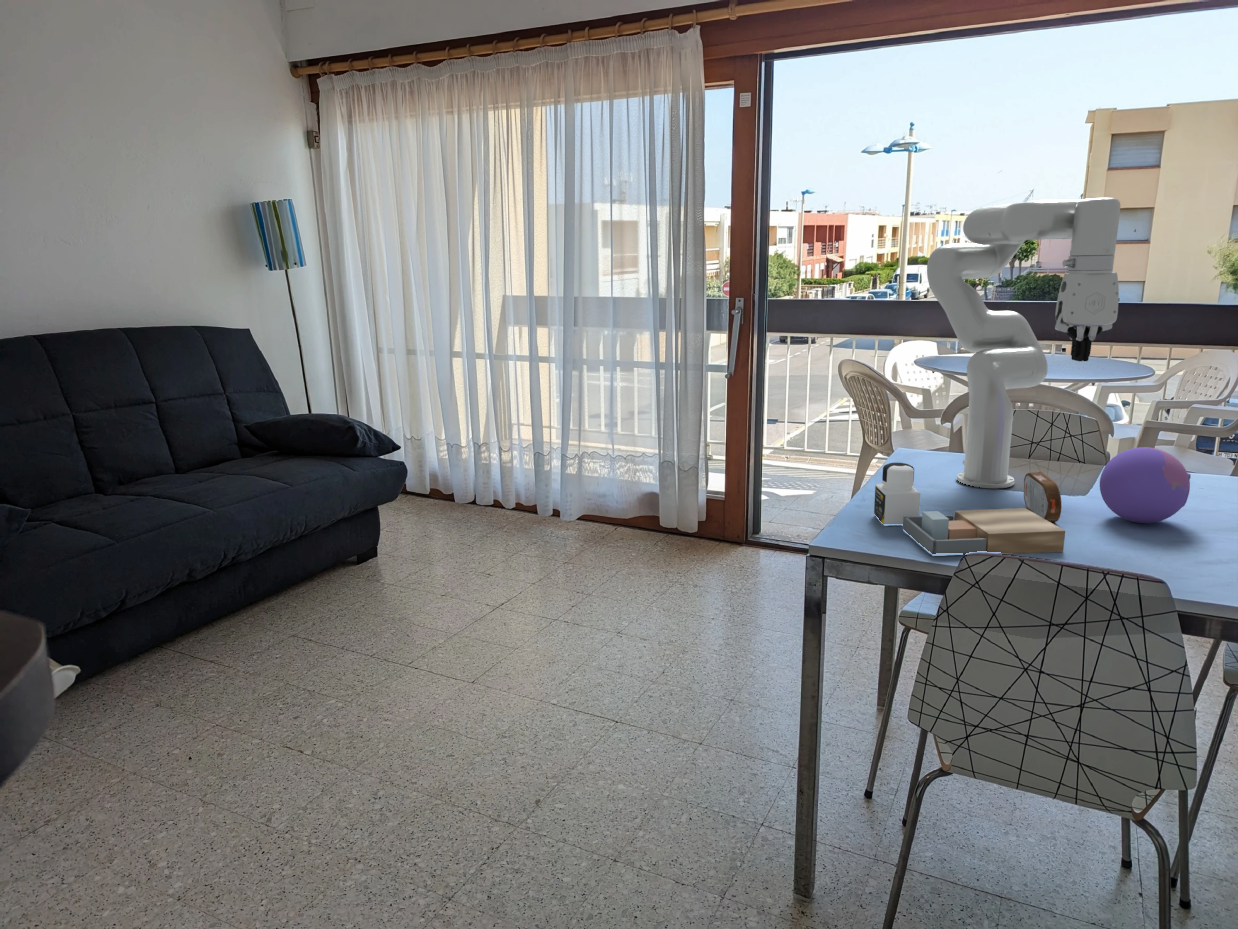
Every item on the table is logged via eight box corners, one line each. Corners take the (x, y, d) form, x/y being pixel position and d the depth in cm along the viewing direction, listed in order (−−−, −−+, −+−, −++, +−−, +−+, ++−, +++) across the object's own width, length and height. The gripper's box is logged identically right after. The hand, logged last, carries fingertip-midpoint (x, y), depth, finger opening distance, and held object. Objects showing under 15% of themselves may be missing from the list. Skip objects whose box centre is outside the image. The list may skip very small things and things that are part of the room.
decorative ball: (1196, 535, 154) (1208, 458, 150) (1107, 530, 158) (1117, 455, 154) (1168, 512, 168) (1178, 441, 164) (1086, 508, 172) (1095, 438, 168)
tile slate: (936, 535, 156) (920, 536, 156) (938, 511, 155) (922, 511, 155) (947, 544, 152) (931, 545, 152) (949, 519, 150) (932, 519, 150)
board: (953, 530, 161) (954, 510, 160) (1023, 527, 161) (1025, 508, 160) (986, 554, 147) (988, 533, 146) (1063, 551, 148) (1065, 530, 147)
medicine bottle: (873, 516, 171) (876, 460, 168) (907, 515, 171) (911, 460, 168) (882, 526, 164) (885, 469, 161) (918, 526, 164) (922, 468, 161)
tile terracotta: (937, 536, 156) (938, 521, 156) (963, 535, 156) (964, 520, 156) (948, 544, 151) (949, 529, 151) (975, 543, 152) (976, 528, 151)
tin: (1060, 527, 161) (1065, 486, 159) (1044, 527, 161) (1048, 486, 159) (1034, 505, 175) (1038, 467, 173) (1019, 505, 176) (1022, 467, 174)
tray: (902, 531, 161) (903, 516, 160) (950, 529, 161) (952, 514, 161) (932, 557, 147) (933, 541, 146) (985, 554, 147) (986, 539, 147)
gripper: (1062, 266, 153) (1052, 364, 158) (1141, 264, 153) (1128, 361, 158) (1042, 266, 160) (1032, 359, 165) (1117, 263, 160) (1105, 356, 165)
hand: (1079, 360), depth 161 cm, fingers closed
